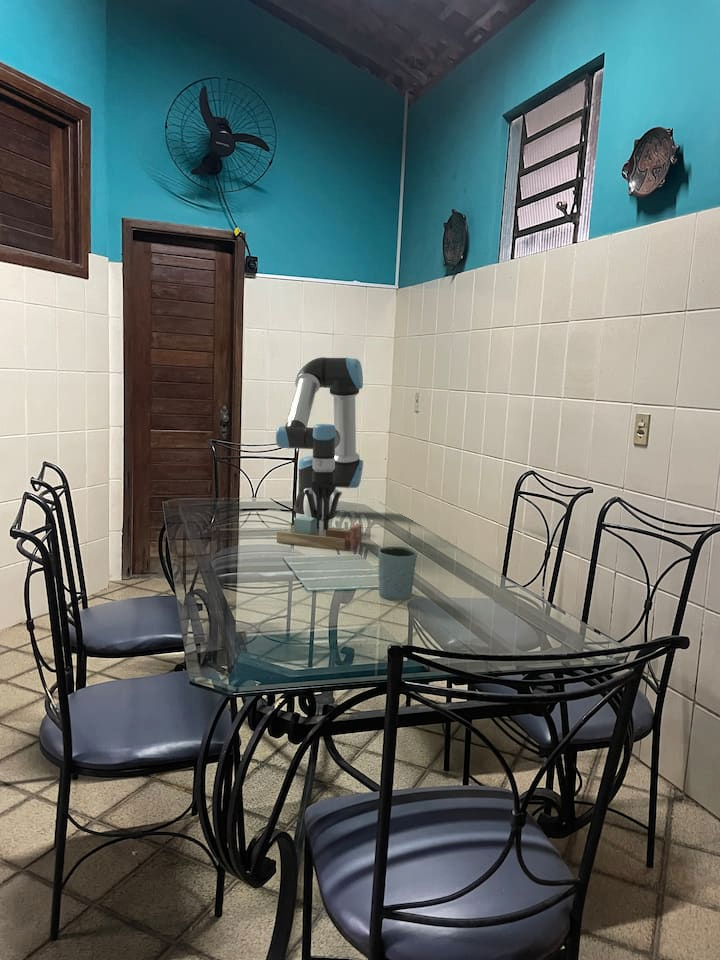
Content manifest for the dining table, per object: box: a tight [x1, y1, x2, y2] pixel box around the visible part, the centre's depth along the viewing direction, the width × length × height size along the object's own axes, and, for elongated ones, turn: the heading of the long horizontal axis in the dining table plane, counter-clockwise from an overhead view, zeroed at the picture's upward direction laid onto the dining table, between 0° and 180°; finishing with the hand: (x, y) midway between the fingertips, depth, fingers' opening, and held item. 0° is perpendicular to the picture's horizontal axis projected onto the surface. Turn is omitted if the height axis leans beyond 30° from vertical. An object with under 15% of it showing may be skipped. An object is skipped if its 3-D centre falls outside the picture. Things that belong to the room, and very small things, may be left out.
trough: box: [276, 524, 362, 551], centre depth 236 cm, size 12×26×6 cm, turn 71°
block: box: [293, 515, 317, 536], centre depth 237 cm, size 6×6×8 cm
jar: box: [303, 488, 333, 529], centre depth 255 cm, size 11×10×15 cm
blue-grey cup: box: [378, 546, 418, 601], centre depth 181 cm, size 10×10×12 cm
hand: (322, 538), depth 236 cm, fingers closed
